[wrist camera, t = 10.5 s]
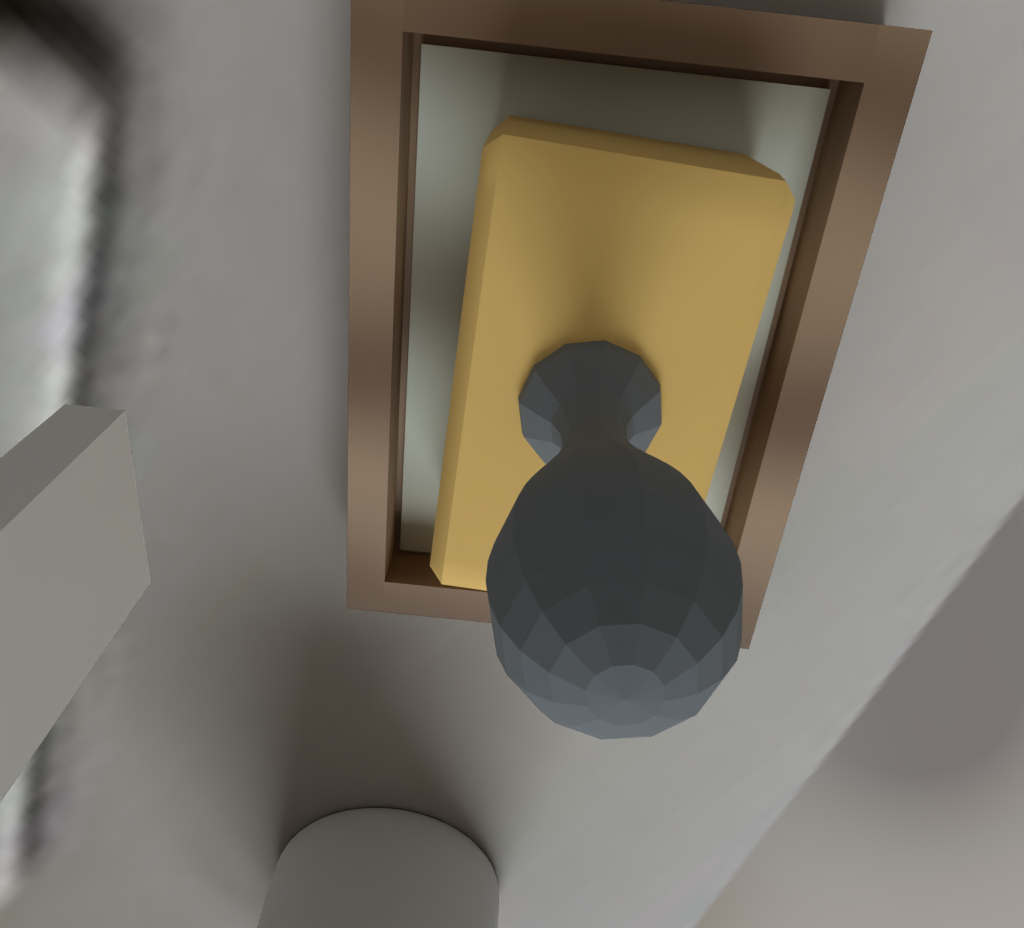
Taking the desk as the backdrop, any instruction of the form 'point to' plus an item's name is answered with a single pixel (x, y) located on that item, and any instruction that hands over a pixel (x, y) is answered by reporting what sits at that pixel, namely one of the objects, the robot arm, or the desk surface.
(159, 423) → the desk surface
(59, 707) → the robot arm
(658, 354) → the rubber stamp
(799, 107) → the tray
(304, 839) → the mug
